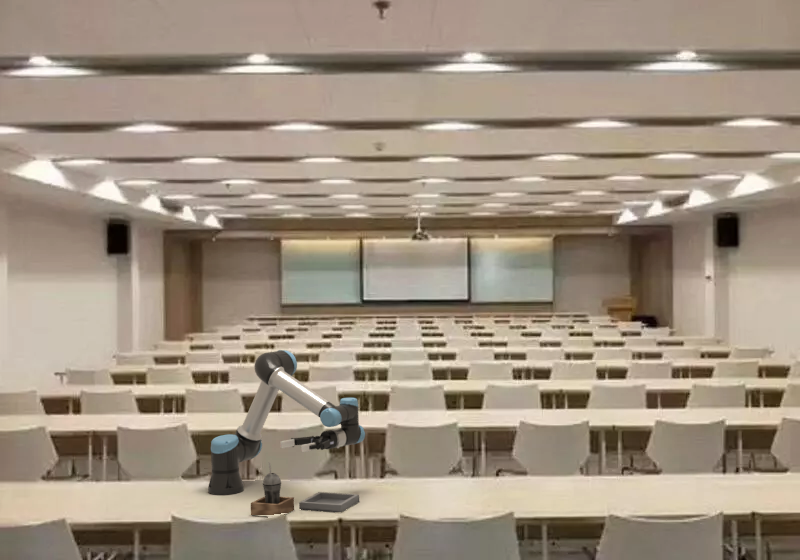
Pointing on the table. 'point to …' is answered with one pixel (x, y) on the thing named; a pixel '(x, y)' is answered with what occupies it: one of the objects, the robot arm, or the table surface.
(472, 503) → the table surface
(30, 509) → the table surface
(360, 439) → the robot arm
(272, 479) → the beverage cup
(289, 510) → the brown wooden box
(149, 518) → the table surface
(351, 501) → the tray
